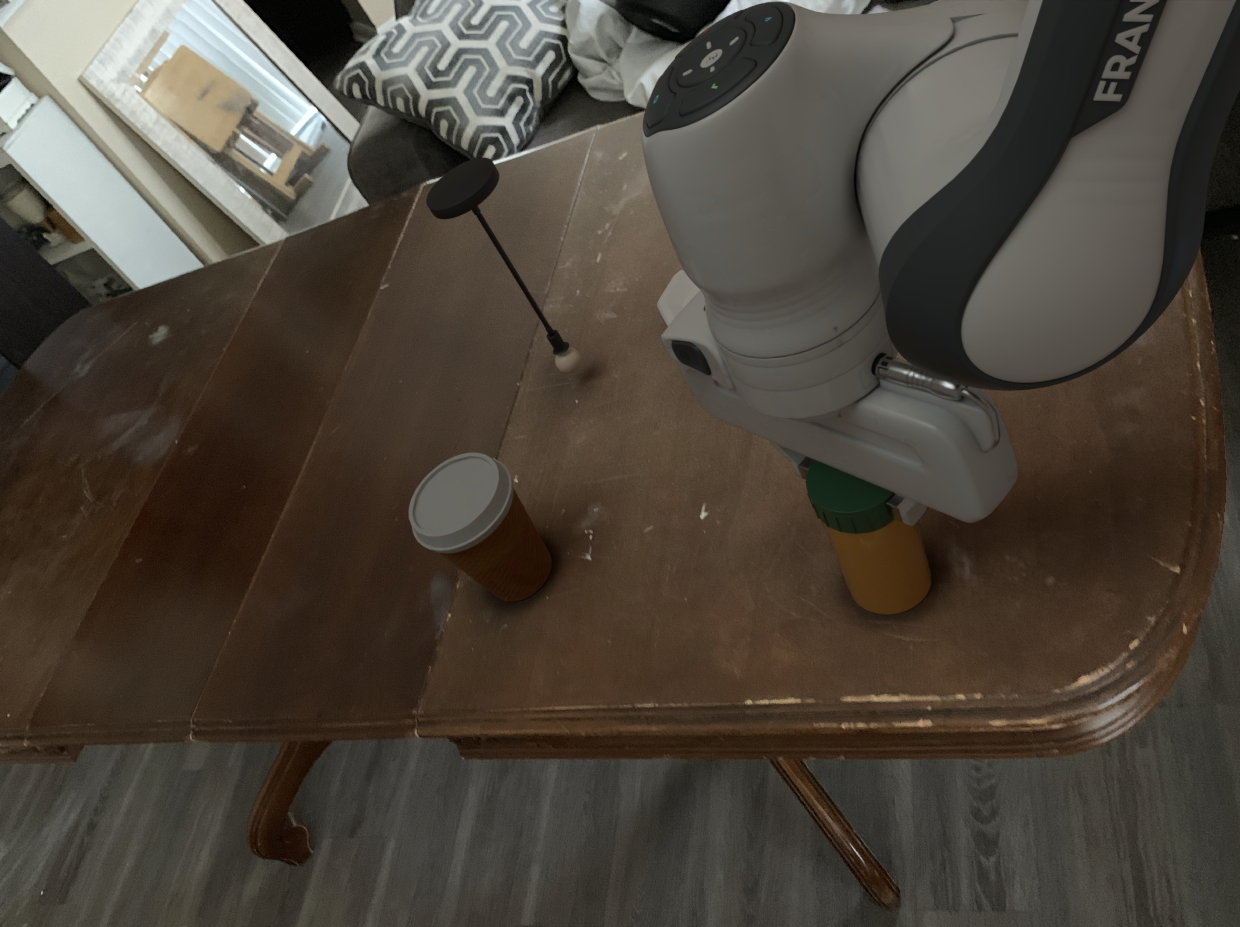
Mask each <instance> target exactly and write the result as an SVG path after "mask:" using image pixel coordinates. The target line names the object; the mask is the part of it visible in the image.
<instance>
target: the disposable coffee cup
mask: <svg viewBox="0 0 1240 927" xmlns="http://www.w3.org/2000/svg"><path fill="white" fill-rule="evenodd" d="M513 484H514V483H513V478H512V474H511V472H510V471H509V469H508V467H507V466H506V465H505V464H504V463H503V462H502V461H499V460H498V459H496V458H493V457H491V456H489V455H487V454H484V453H481V452H466V453H461V454H458V455H454V456H452V457H450V458H448V459H446V460H444V461H443V462H441V463H439V464H438V465H437V466H436V467H434V468H433V469H432V470H431V471H430V472H429V473H428V474H427V475H425V476H424V478H423V479H422V480H421V482H420V483H419V484H418V485H417V486H416V488H415V489H414V493H413V494H412V497H411V499H410V501H409V505H408V520H409V522H410V525H411V531H412V534H413V536H414V538H415V540H416V541H417V543H419V544H420V545H421V546H422V547H423V548H426V549H427V550H430V551H433V552H436V553H438V554H440V555H441V556H442V557H444V558H445V560H448V561H449V562H450V563H452V564H453V565H454V566H455V567H457V568H458V569H459V570H460V571H462V572H463V573H465V574H466V575H467V576H469V577H470V578H471V579H472V580H474V581H475V582H477V583H478V584H479V585H480V586H482V587H483V588H484V589H486V590H487V591H489V592H490V593H491V594H492V595H494V596H495V597H496V598H498V599H499V600H500V601H503V602H508V603H509V602H510V603H511V602H512V603H514V602H518V601H523V600H525V599H527V598H529V597H531V596H533V595H534V594H536V592H537V591H538V590H540V589H541V588H542V587H543V585H544V584H545V583H546V581H547V580H548V578H549V576H550V574H551V571H552V566H553V560H552V556H551V552H550V551H549V549H548V547H547V546H546V544H545V542H544V541H543V539H542V536H541V534H540V533H539V531H538V529H537V528H536V526H535V524H534V522H533V520H532V519H531V517H530V515H529V514H528V511H527V510H526V508H525V506H524V504H523V502H522V500H521V499H520V497H519V495H518V494H517V492H516V490H515V488H514V485H513Z"/></svg>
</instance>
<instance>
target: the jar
mask: <svg viewBox="0 0 1240 927" xmlns="http://www.w3.org/2000/svg"><path fill="white" fill-rule="evenodd" d="M821 524H822V527H823V529H824V531H825V533H826V536H827V539H828V541H829V544H830V546H831V548H832V551H833V553H834V556H835V558H836V561H837V563H838V566H839V568H840V572H841V573H842V576H843V579H844V582H845V584H846V586H847V588H848V591H849V593H850V595H851V597H852V599H853V601H854V602H855V603H856V604H857V605H858V606H859V607H861V608H863V609H864V610H866V611H868V612H870V613H874V614H877V615H886V616H887V615H888V616H889V615H897V614H900V613H904V612H906V611H907V612H908V611H909V610H911V609H913V608H914V607H916V606H918V605H919V604H920V603H922V601H923V600H924V599H925V598H926V596H927V595H928V594H929V593H928V592H929V591H930V589H931V586H932V571H931V568H930V565H929V561H928V557H927V553H926V549H925V546H924V542H923V539H922V536H921V532H920V528H919V524H918V521H917V522H916V524H915V525H913V526H910V525H907V524H905V523H903V522H901V521H899V520H897V519H894V520H893V521H892V522H890V523H889V524H887V525H886V526H884V527H882V528H879V529H877V530H874V531H871V532H866V533H858V534H852V533H843V532H839V531H836V530H834V529H832V528H830V527H827V526H826V525H825V524H824V523H823V522H822V521H821Z"/></svg>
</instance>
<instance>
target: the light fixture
mask: <svg viewBox="0 0 1240 927" xmlns="http://www.w3.org/2000/svg"><path fill="white" fill-rule="evenodd" d="M499 180H500V172H499V170H498V168H497V166H496V165H495V162H494V161H493V160H492V158H491V159H490V158H489V157H475V158H472V159H469V160H466V161H464V162H462V163H460V164H458V165H456V166H455V167H453V168H451V169H450V170H449V171H448V172H446V173H444V174H443V175H442V176H441V177H440V178H439V179H438V180H437V181H436V182H435V183H434V184H433V186H432V187H431V188H430V190H429V192H428V193H427V195H426V200H425V202H426V207H427V208H428V209H429V211H430V213H431V214H432V216H434V218H436V219H439V220H452V219H455V218H458V217H461V216H462V215H465V214H467V213H469V212H471V211H472V213H473V215H474V216H476V218H477V220H478V222H479V223H480V225H481V226H482V228H483V229H484V231H485V233H486V235H487V236H488V238H489V239H490V241H491V243H492V244H493V246H494V247H495V250H496V251H497V252H498V254H499V256H500V257H501V259H502V260H503V262H504V263H505V265H506V267H507V268H508V270H509V271H510V273H511V275H512V277H513V278H514V280H515V282H516V283H517V285H518V286H519V288H520V289H521V291H522V293H523V294H524V296H525V298H526V299H527V301H528V302H529V304H530V306H531V308H532V309H533V311H534V312H535V314H536V316H537V317H538V319H539V320H540V322H541V324H542V325H543V326H544V328H545V332H547V334H546V339H547V341H548V342H549V344H550V345H551V347H552V348H553V349H552V355H554V356H555V357H554V364H555V367H556V368H557V370H558V371H560V373H563V374H566V375H567V374H572V373H573V374H574V373H575V372H576V371H578V370H579V369H580V367H581V364H582V356H581V353H580V352H579V350H577V349H576V348H574V347H572V346H570V343H569V342H567V341H564V339H563V338H562V336H561V334H560V333H559V331H558V330H557V329H553V328H552V325H550V323H549V322H548V320H547V318H546V317H545V315H544V313H543V312H542V310H541V309H540V306H539V305H538V303H537V302H536V300H535V299H534V297H533V295H532V294H531V292H530V291H529V289H528V287H527V285H526V284H525V282H524V281H523V279H522V277H521V275H520V274H519V272H518V271H517V269H516V268H515V266H514V264H513V262H512V261H511V259H510V258H509V256H508V255H507V253H506V251H505V249H504V248H503V246H502V244H501V243H500V241H499V240H498V238H497V236H496V234H495V233H494V231H493V230H492V228H491V227H490V225H489V223H488V222H487V220H486V218H485V217H484V215H483V214H482V210H481V209H480V207H479V205H481V204H482V203H483V202H484V201H485V200H487V198H489V197H490V195H491V194H492V193H493V192H494V190H495V189H496V187H497V186H498V184H499Z"/></svg>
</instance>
